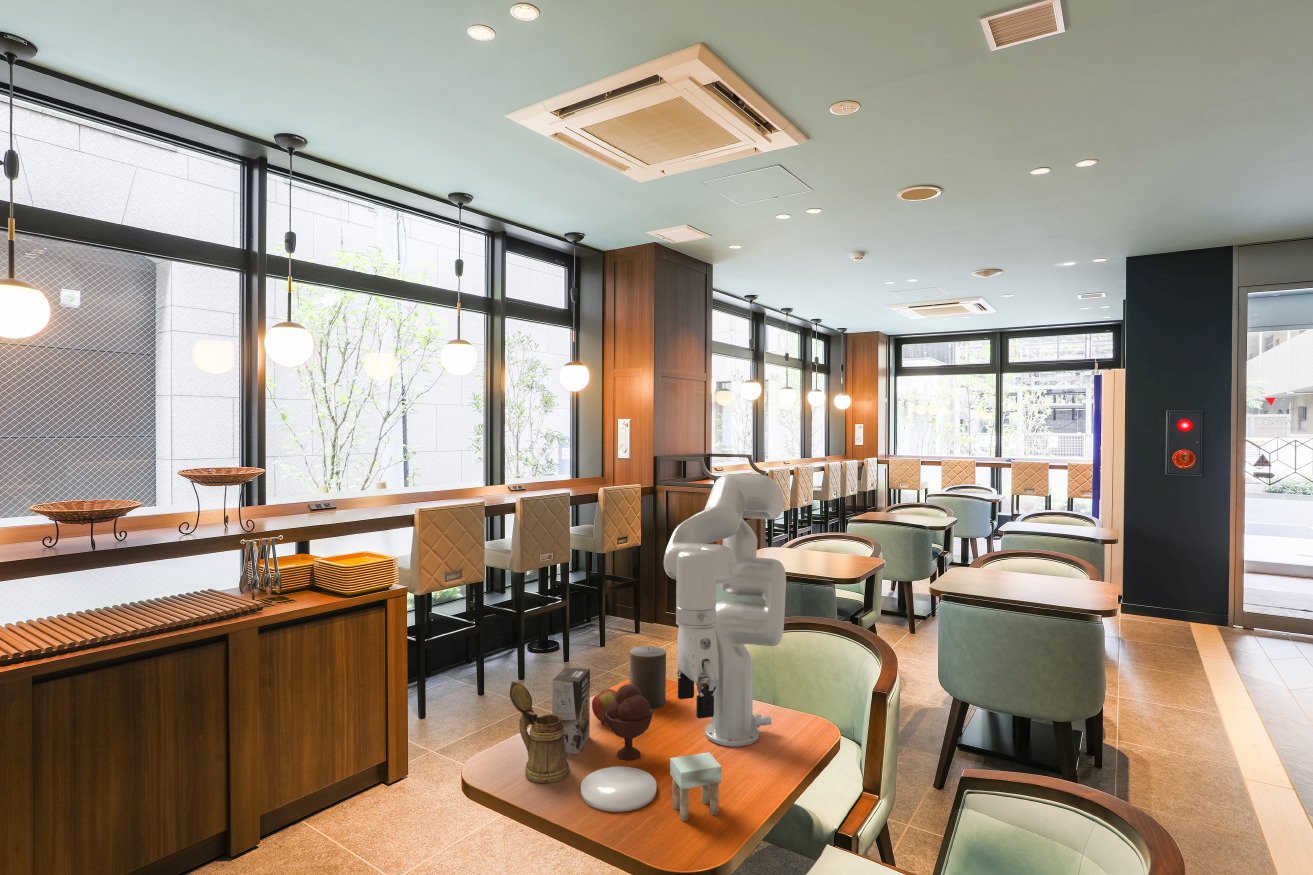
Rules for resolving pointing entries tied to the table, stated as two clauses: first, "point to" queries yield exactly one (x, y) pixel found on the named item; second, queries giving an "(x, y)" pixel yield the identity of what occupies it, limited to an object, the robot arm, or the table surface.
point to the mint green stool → (695, 781)
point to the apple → (602, 703)
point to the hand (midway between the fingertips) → (695, 707)
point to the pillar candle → (649, 673)
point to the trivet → (618, 789)
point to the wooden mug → (540, 739)
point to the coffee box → (573, 706)
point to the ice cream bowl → (628, 718)
